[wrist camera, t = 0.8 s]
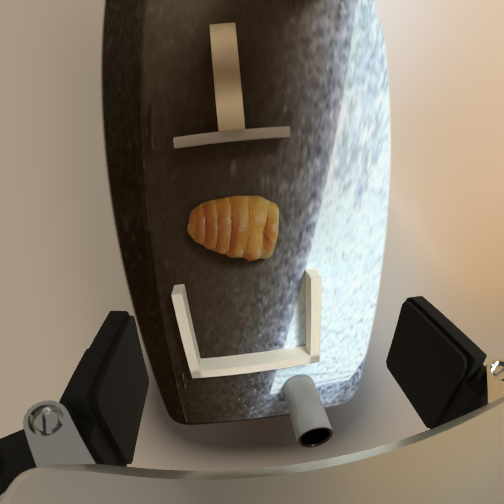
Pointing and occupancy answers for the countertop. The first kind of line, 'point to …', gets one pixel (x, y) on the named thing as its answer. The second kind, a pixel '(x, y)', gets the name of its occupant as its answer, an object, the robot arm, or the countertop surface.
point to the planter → (307, 412)
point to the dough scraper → (228, 96)
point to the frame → (252, 360)
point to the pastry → (236, 226)
